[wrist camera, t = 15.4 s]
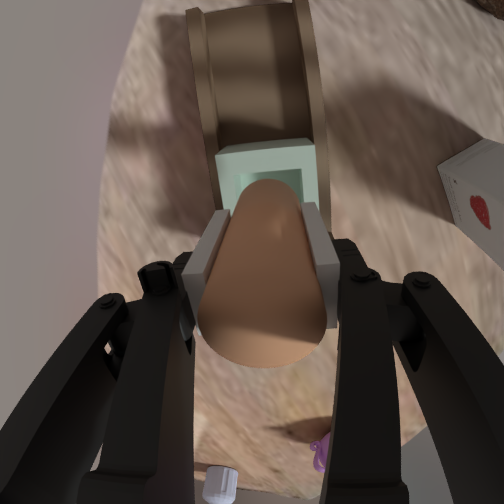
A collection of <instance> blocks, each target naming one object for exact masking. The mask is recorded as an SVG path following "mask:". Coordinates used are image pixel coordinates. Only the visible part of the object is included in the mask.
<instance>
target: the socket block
mask: <svg viewBox="0 0 504 504" xmlns="http://www.w3.org/2000/svg"><path fill="white" fill-rule="evenodd" d="M215 160H216V166H217V172H218V178H219V184H220V190H221V196H222V202H223V208H224V209H230V214H231V217H232V214H233V212H234V209H235V206H236V204H237V201H238V199H239V196H240V194H241V193H242V191H243V190H244V189H245V188H246V187H247V186H248V185H249V184H251V183H253V182H255V181H257V180H260V179H276V180H279V181H282V182H284V183H286V184H287V185H288V186H290V187H291V188H292V189H293V190H294V192H295V193H296V195H297V197H298V199H299V203H303V202H315V203H316V205H317V208H318V210H319V197H318V180H317V166H316V153H315V145H314V144H313V143H312V142H311V141H310V140H309V139H308V138H294V139H282V140H271V141H262V142H253V143H244V144H236V145H229V146H226V147H225V148H223V149H222V150H221V151H220V152H218V153H217V154H216V155H215ZM300 207H301V205H300Z"/></svg>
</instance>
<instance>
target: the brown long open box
mask: <svg viewBox="0 0 504 504" xmlns="http://www.w3.org/2000/svg"><path fill="white" fill-rule="evenodd" d="M185 11H186V19H187V27H188V35H189V43H190V50H191V57H192V64H193V71H194V78H195V85H196V92H197V98H198V105H199V112H200V118H201V124H202V131H203V137H204V143H205V149H206V155H207V161H208V167H209V173H210V179H211V184H212V190H213V196H214V201H215V207H216V210H224V208H223V202H222V196H221V190H220V184H219V178H218V172H217V166H216V160H215V155H216V154H217V153H218V152H220V151H221V150H222V149H223V148H225V147H226V146H229V145H236V144H244V143H253V142H262V141H271V140H282V139H294V138H308V139H309V140H310V141H311V142H312V143H313V144H314V145H315V153H316V166H317V180H318V197H319V213H320V215H321V217H322V220H323V222H324V224H325V227H326V229H327V232H328V234H329V237H330V239H331V240H334V237H333V235H332V232H331V197H330V176H329V160H328V146H327V133H326V122H325V112H324V102H323V93H322V85H321V77H320V69H319V62H318V55H317V48H316V42H315V36H314V30H313V24H312V18H311V13H310V8H309V2H308V0H292V3H280V4H268V5H258V6H250V7H242V8H235V9H229V10H223V11H218V12H212V13H207V14H203V12H202V11H201V10H200V9H199V8H198V7H196V8H192V9H188V10H185Z"/></svg>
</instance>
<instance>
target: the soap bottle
mask: <svg viewBox="0 0 504 504" xmlns="http://www.w3.org/2000/svg"><path fill="white" fill-rule="evenodd" d="M237 476H238V472H237V471H236V470H234V469H232V468H229V467H225V466H210V467H208V468H207V473H206V478H205V484H204V490H203V498H204V499H205V500H206V501H207V502H208V503H210V504H231V503H233V501H234V500H235V493H236V485H237Z"/></svg>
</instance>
